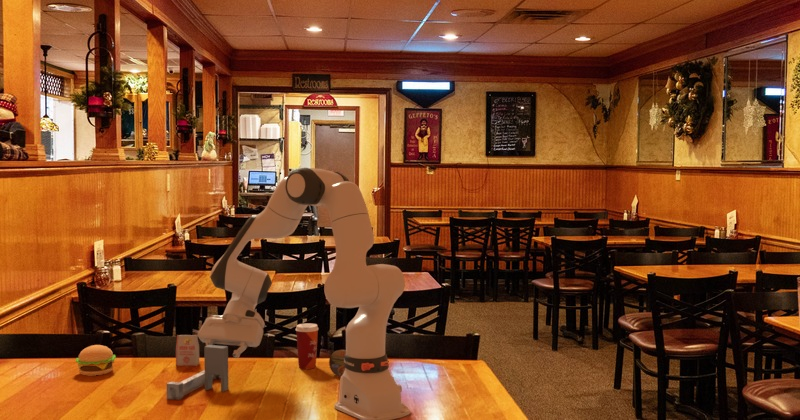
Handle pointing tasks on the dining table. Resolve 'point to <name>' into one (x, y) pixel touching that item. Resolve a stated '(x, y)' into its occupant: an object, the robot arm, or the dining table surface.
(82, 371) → the hamburger
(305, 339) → the paper cup
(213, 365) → the clip
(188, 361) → the printed food carton
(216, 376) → the rail
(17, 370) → the dining table surface
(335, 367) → the tin
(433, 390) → the dining table surface
